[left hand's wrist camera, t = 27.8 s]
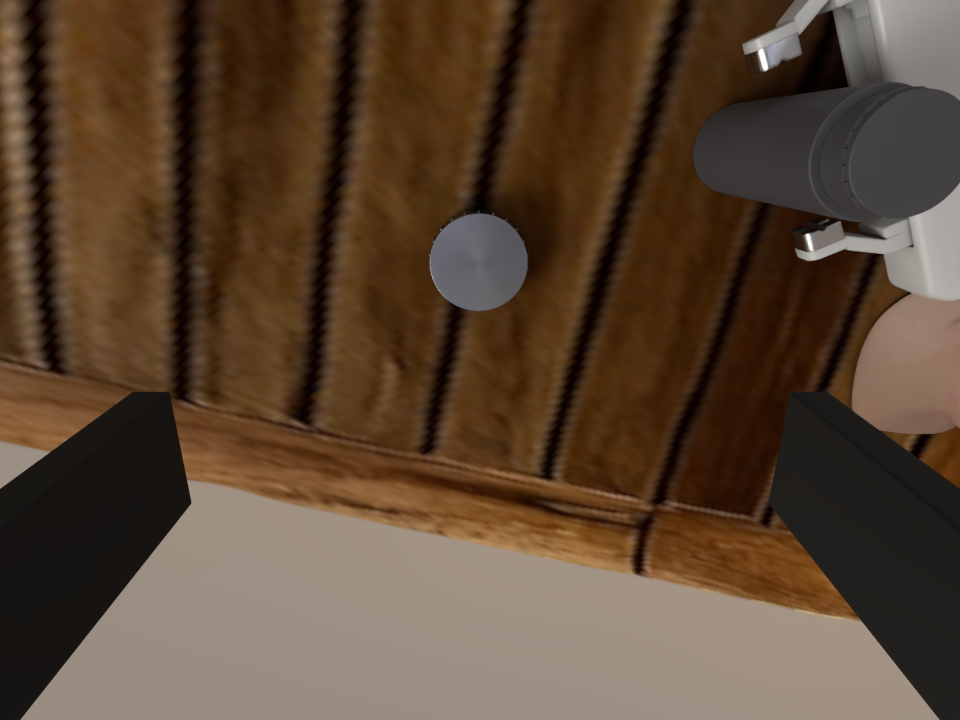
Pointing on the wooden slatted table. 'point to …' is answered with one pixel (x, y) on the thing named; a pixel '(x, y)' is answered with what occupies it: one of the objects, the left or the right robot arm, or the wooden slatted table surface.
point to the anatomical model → (911, 368)
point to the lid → (478, 260)
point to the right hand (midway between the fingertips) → (776, 157)
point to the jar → (837, 151)
